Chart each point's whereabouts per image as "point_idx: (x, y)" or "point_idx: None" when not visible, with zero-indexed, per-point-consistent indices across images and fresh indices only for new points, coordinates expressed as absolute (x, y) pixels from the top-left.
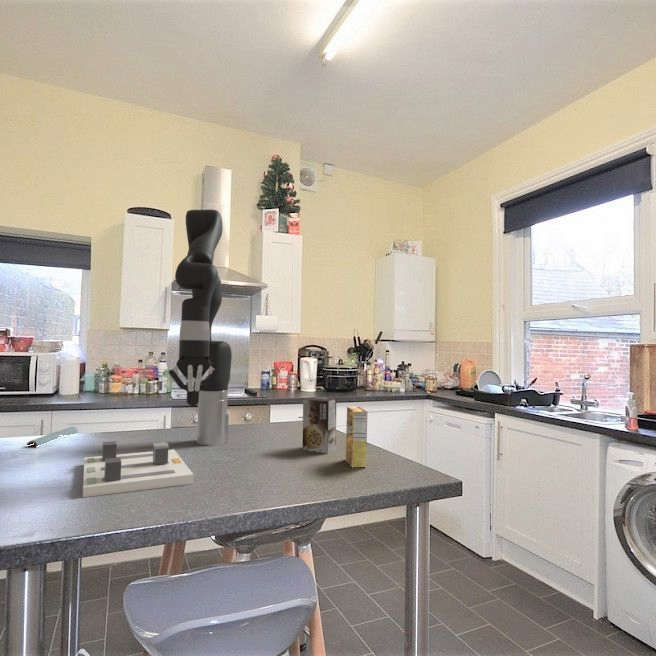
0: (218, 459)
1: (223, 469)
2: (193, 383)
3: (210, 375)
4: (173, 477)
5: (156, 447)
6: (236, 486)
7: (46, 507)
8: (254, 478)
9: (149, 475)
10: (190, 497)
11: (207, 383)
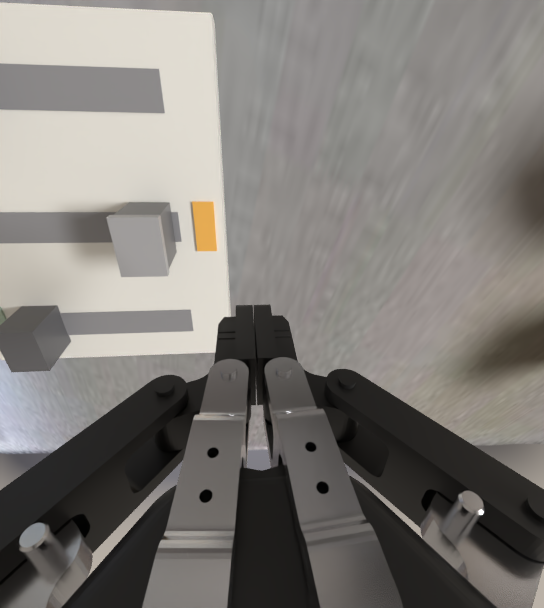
0: (362, 127)
1: (329, 250)
2: (270, 405)
3: (419, 524)
4: (187, 352)
5: (127, 276)
6: (307, 365)
7: None
8: (359, 337)
9: (133, 333)
10: None
11: (367, 453)
